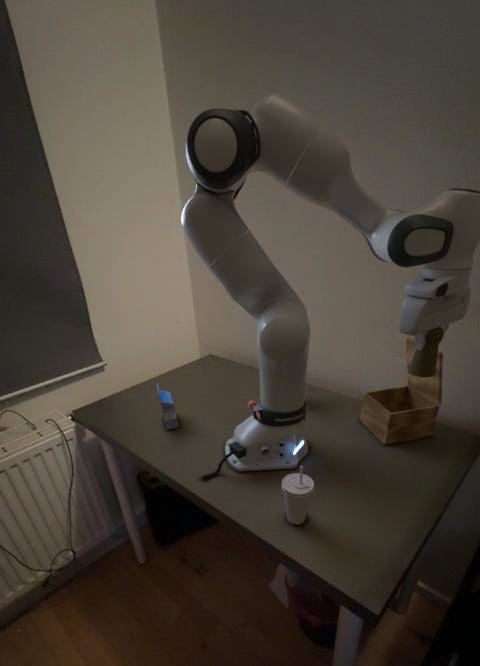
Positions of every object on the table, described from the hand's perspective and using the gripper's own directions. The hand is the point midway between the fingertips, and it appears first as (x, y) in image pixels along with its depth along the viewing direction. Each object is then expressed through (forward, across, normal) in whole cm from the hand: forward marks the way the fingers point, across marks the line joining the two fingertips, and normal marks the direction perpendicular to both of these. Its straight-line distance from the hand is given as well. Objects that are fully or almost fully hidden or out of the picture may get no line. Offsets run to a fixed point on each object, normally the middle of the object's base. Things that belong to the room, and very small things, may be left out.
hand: (427, 346), depth 80 cm
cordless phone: (+27, +47, -50) cm, 74 cm away
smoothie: (+27, +41, +4) cm, 50 cm away
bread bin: (+27, -4, -6) cm, 28 cm away
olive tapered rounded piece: (+7, 0, 0) cm, 7 cm away
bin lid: (+10, -8, -4) cm, 14 cm away
